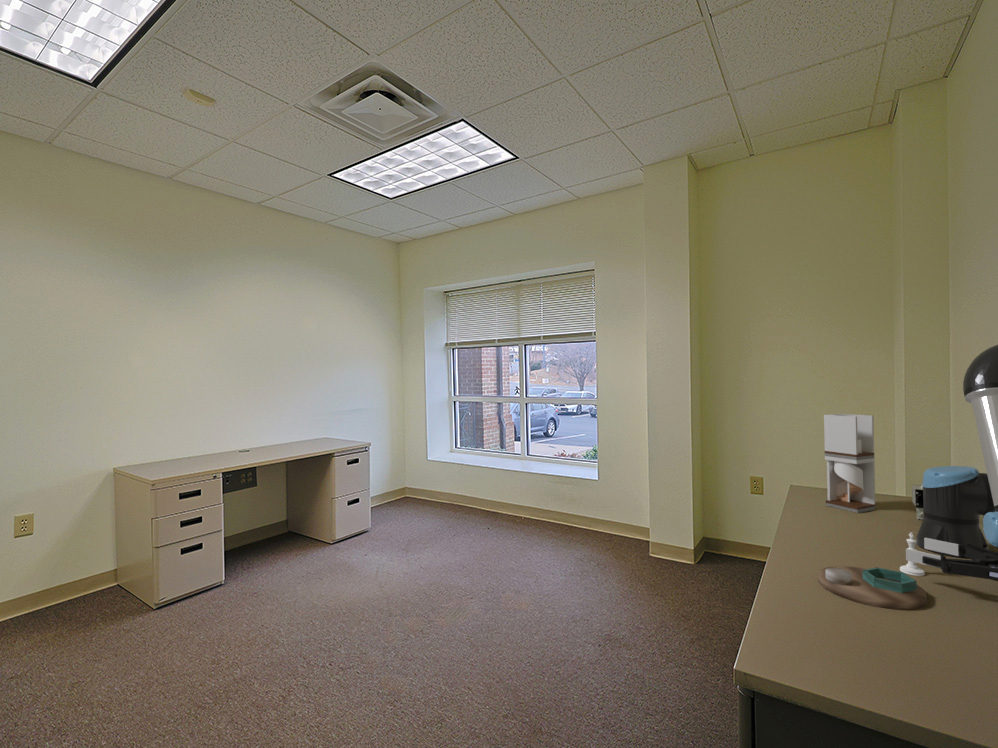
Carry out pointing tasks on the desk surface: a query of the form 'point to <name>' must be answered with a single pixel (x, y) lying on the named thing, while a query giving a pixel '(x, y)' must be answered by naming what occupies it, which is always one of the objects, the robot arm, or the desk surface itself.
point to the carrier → (873, 587)
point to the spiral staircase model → (850, 461)
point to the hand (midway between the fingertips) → (915, 548)
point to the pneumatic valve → (918, 500)
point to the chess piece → (911, 566)
